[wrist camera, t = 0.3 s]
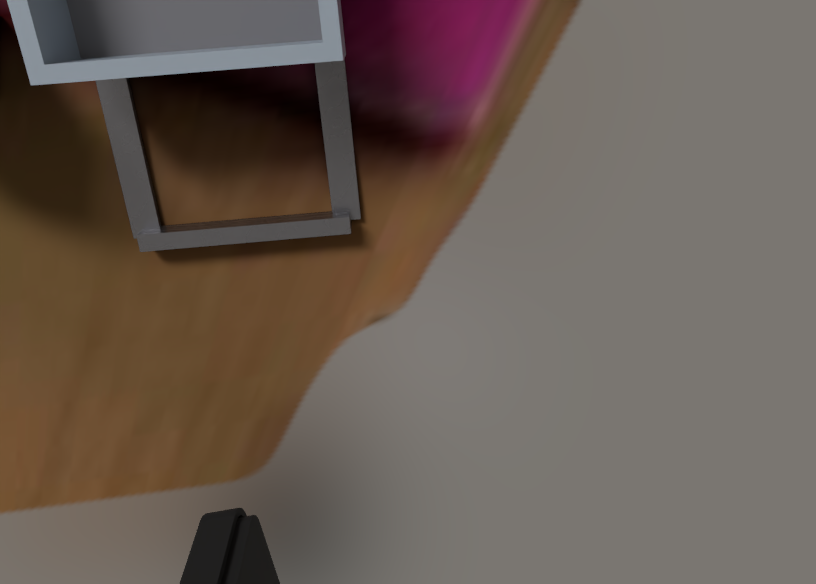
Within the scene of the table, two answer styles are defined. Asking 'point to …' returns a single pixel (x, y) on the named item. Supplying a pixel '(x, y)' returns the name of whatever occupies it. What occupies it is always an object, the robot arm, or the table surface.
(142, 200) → the track
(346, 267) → the table surface
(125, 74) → the rectangular tub
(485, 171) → the table surface
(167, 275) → the table surface
